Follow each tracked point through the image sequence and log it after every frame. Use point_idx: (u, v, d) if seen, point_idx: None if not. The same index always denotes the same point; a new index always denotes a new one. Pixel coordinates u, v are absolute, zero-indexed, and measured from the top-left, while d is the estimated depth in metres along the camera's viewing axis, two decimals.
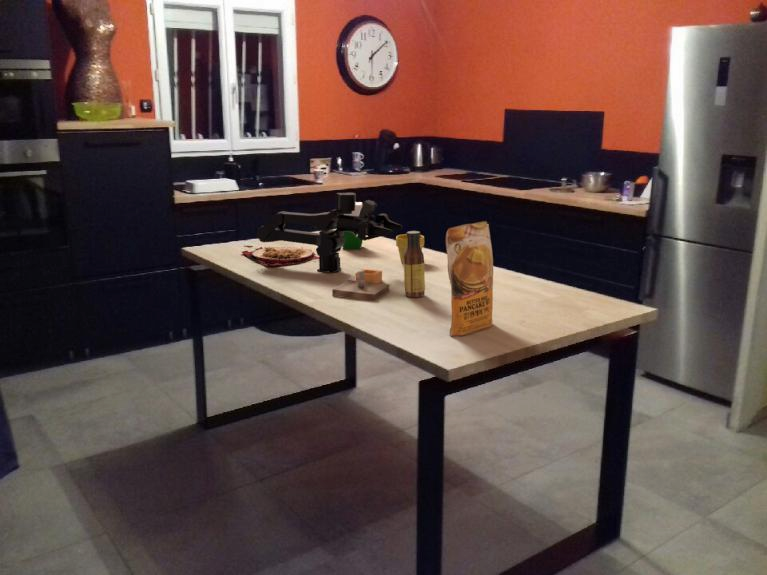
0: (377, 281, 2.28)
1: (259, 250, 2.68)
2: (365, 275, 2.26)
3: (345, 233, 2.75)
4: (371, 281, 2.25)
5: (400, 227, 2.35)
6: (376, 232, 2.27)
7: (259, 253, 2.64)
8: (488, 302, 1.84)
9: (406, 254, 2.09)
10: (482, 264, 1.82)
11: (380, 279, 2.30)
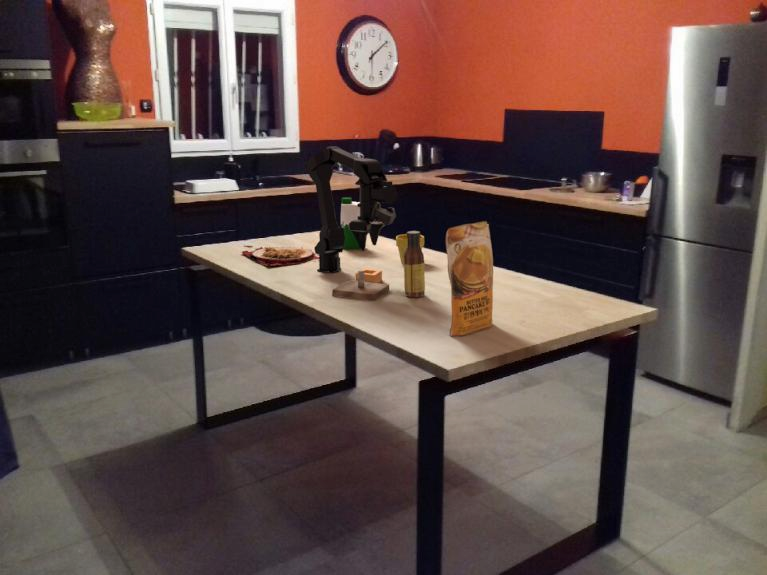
0: (377, 281, 2.28)
1: (259, 250, 2.68)
2: (365, 275, 2.26)
3: (345, 233, 2.75)
4: (371, 281, 2.25)
5: (373, 243, 2.30)
6: (359, 236, 2.20)
7: (259, 253, 2.64)
8: (488, 302, 1.84)
9: (406, 254, 2.09)
10: (482, 264, 1.82)
11: (380, 279, 2.30)
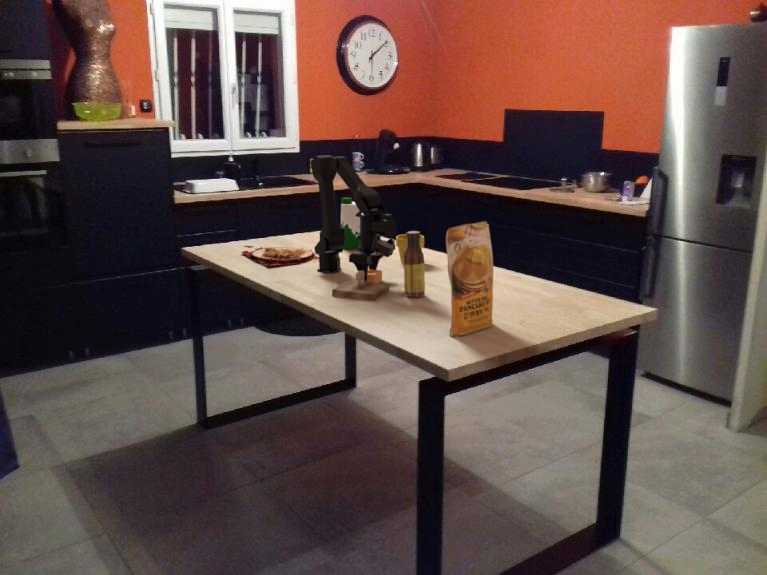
0: (377, 281, 2.28)
1: (259, 250, 2.68)
2: None
3: (345, 233, 2.75)
4: (371, 281, 2.25)
5: None
6: (361, 267, 2.24)
7: (259, 253, 2.64)
8: (488, 302, 1.84)
9: (406, 254, 2.09)
10: (482, 264, 1.82)
11: (380, 279, 2.30)
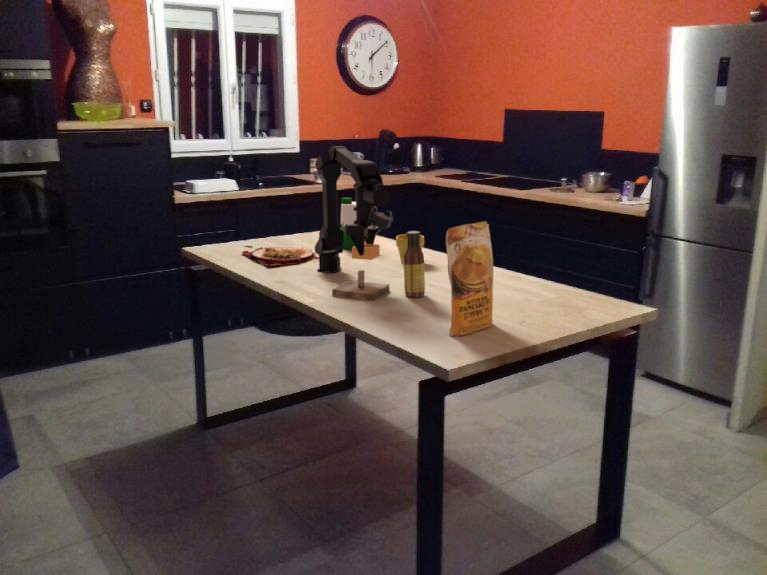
0: (375, 255, 2.17)
1: (259, 250, 2.68)
2: None
3: None
4: (368, 255, 2.15)
5: None
6: (357, 240, 2.14)
7: (259, 253, 2.64)
8: (488, 302, 1.84)
9: (406, 254, 2.09)
10: (482, 264, 1.82)
11: (378, 254, 2.20)
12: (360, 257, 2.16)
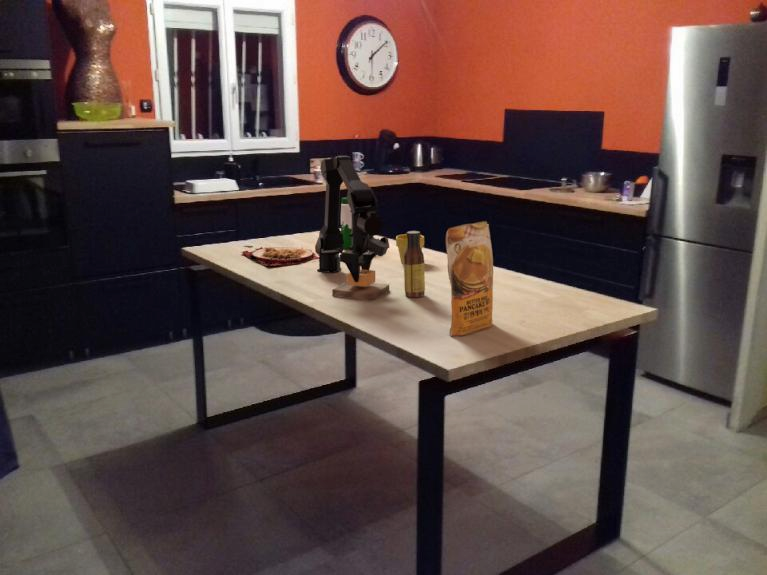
0: (370, 282, 2.14)
1: (259, 250, 2.68)
2: None
3: (345, 233, 2.75)
4: (364, 282, 2.12)
5: None
6: (352, 267, 2.10)
7: (259, 253, 2.64)
8: (488, 302, 1.84)
9: (406, 254, 2.09)
10: (482, 264, 1.82)
11: (373, 280, 2.16)
12: (355, 284, 2.13)
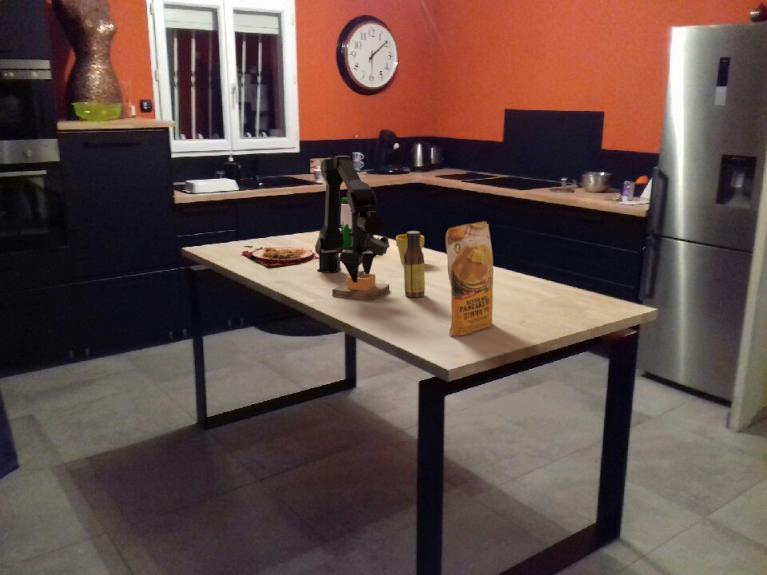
0: (370, 286, 2.14)
1: (259, 250, 2.68)
2: (357, 280, 2.12)
3: (345, 233, 2.75)
4: (363, 286, 2.12)
5: (366, 273, 2.19)
6: (351, 267, 2.09)
7: (259, 253, 2.64)
8: (488, 302, 1.84)
9: (406, 254, 2.09)
10: (482, 264, 1.82)
11: (373, 284, 2.17)
12: (355, 288, 2.13)
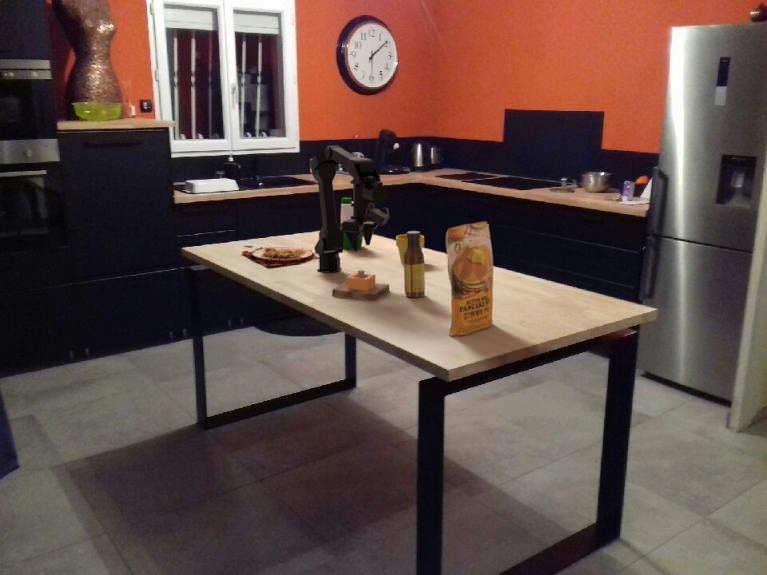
0: (370, 286, 2.14)
1: (259, 250, 2.68)
2: (357, 280, 2.12)
3: None
4: (363, 286, 2.12)
5: (367, 243, 2.28)
6: (352, 236, 2.17)
7: (259, 253, 2.64)
8: (488, 302, 1.84)
9: (406, 254, 2.09)
10: (482, 264, 1.82)
11: (373, 284, 2.17)
12: (355, 288, 2.13)
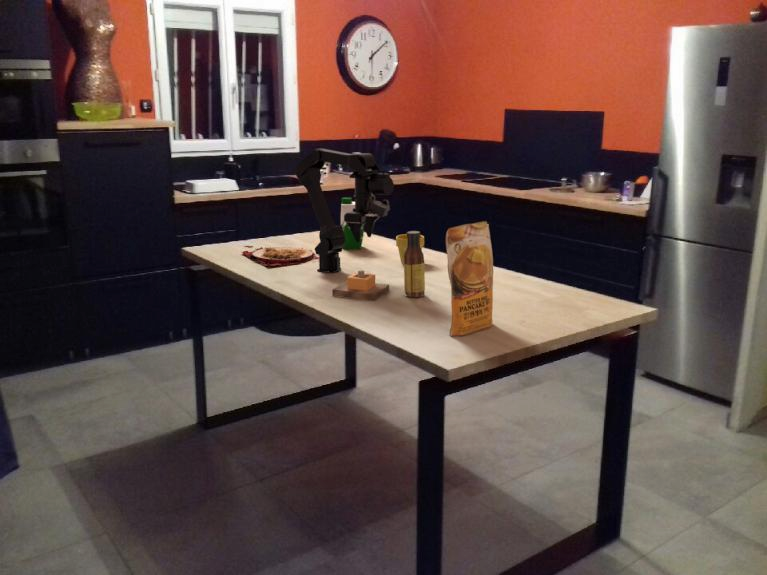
0: (370, 286, 2.14)
1: (259, 250, 2.68)
2: (357, 280, 2.12)
3: (345, 233, 2.75)
4: (363, 286, 2.12)
5: (368, 235, 2.36)
6: (354, 228, 2.26)
7: (259, 253, 2.64)
8: (488, 302, 1.84)
9: (406, 254, 2.09)
10: (482, 264, 1.82)
11: (373, 284, 2.17)
12: (355, 288, 2.13)
